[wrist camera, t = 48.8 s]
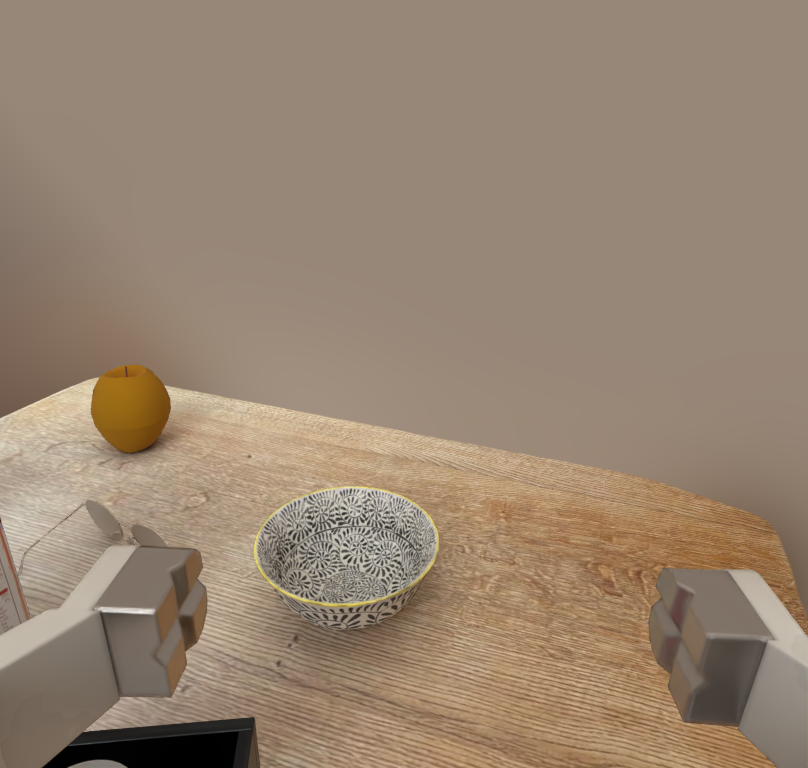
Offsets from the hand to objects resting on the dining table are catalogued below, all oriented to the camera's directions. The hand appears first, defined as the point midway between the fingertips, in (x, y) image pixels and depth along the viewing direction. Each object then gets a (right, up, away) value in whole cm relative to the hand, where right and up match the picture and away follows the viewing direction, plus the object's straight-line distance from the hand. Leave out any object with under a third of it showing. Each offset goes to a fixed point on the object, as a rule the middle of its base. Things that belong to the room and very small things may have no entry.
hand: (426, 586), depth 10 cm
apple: (-37, -5, +70) cm, 79 cm away
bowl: (-5, -17, +43) cm, 47 cm away
